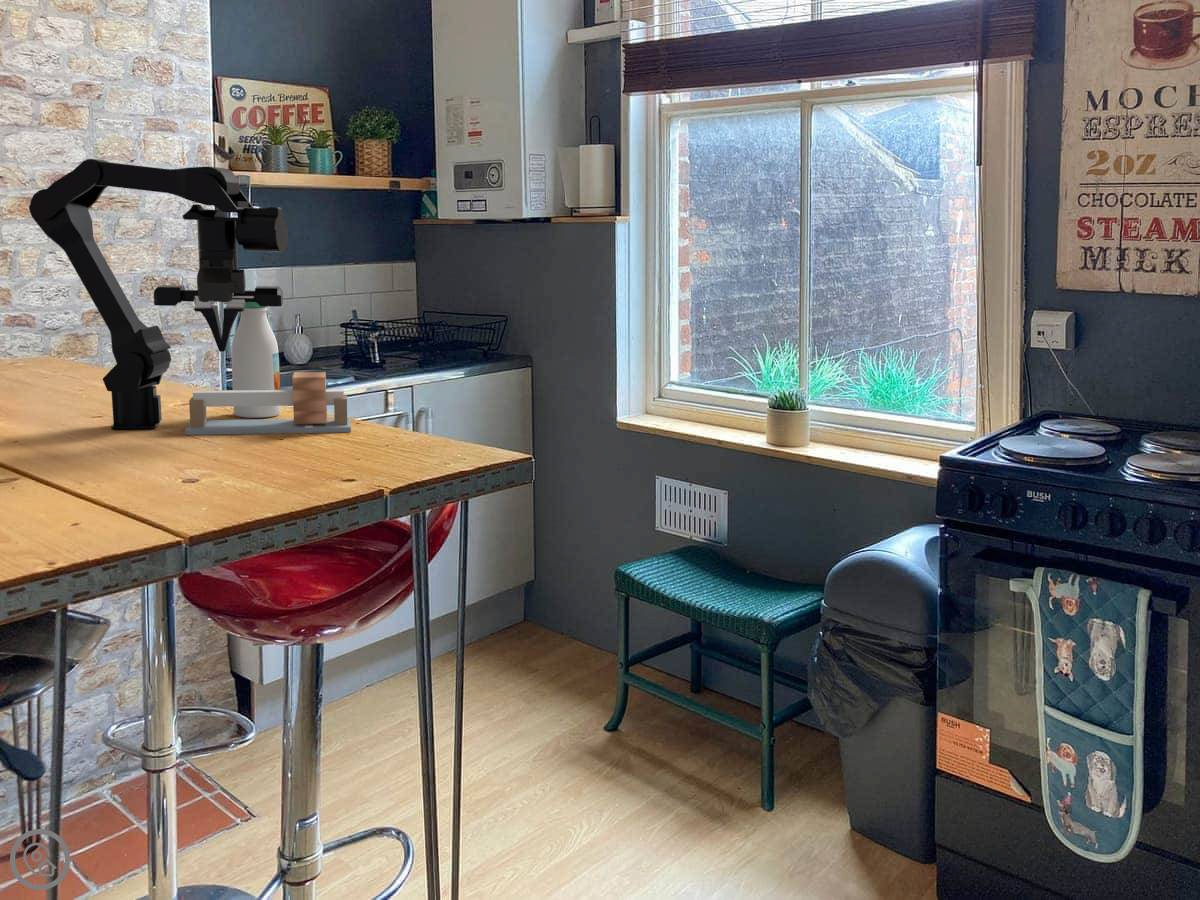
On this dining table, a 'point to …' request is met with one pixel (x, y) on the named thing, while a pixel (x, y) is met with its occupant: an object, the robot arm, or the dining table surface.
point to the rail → (263, 398)
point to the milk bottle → (255, 359)
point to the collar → (309, 397)
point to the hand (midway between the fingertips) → (222, 351)
